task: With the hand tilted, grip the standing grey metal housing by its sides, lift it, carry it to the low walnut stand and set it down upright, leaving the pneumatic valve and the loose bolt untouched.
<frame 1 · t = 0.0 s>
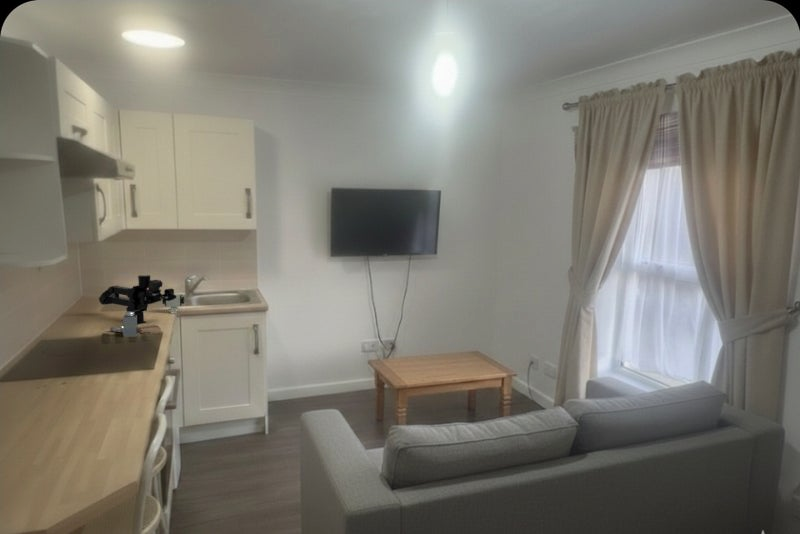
hand: (168, 298, 265), 17 cm above the countertop, tool horizontal, fingers open, 9 cm apart
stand: (148, 330, 263), on the countertop
bolt: (116, 331, 259), on the countertop
pneumatic valve: (174, 313, 306), on the countertop
housing: (130, 335, 252), on the countertop
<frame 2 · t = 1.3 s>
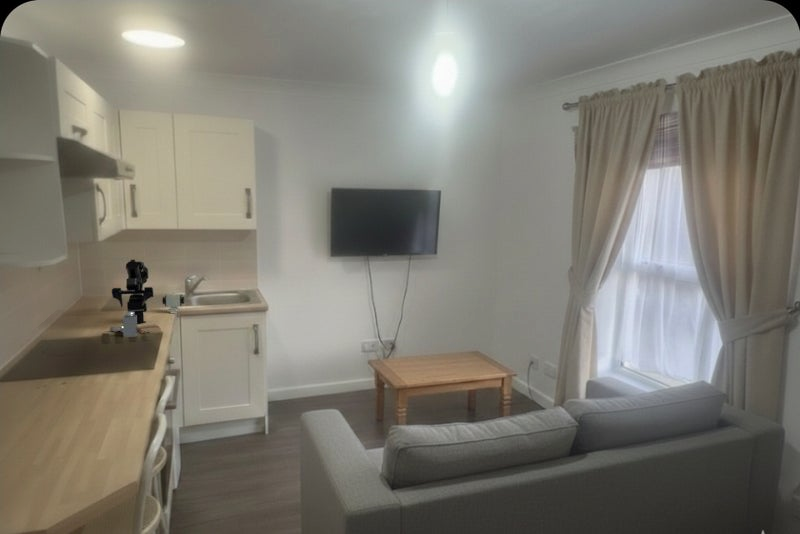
hand: (131, 306, 258), 13 cm above the countertop, tool tilted 45°, fingers open, 9 cm apart
nothing on the countertop moved.
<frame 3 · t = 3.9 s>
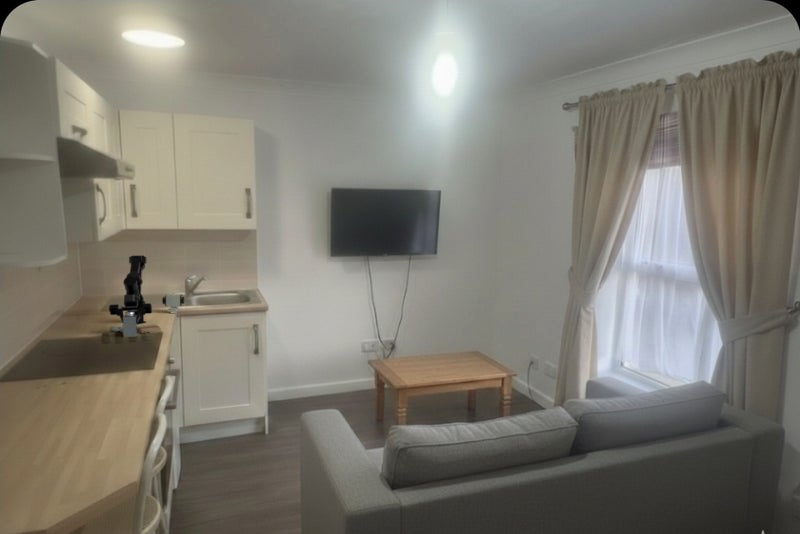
hand: (129, 323, 250), 7 cm above the countertop, tool tilted 45°, fingers closed on housing, 5 cm apart
housing: (130, 335, 252), on the countertop, touching gripper
everything else where it was.
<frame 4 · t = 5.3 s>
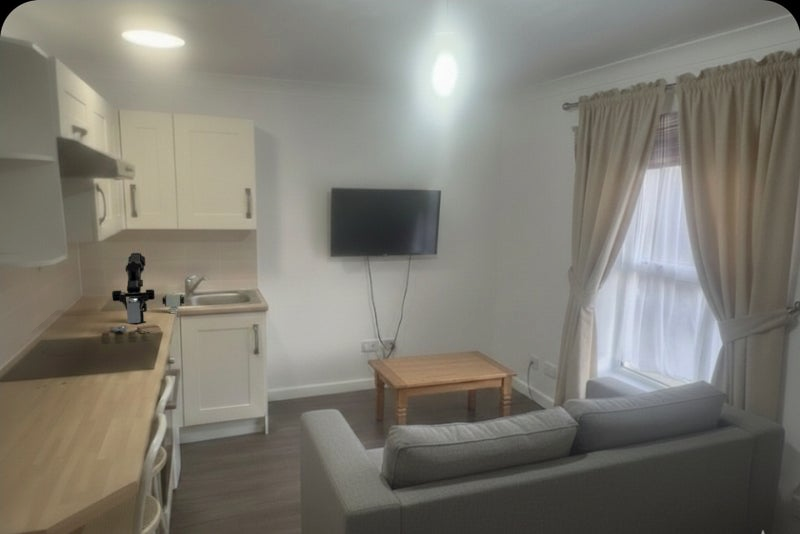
hand: (133, 309, 251), 13 cm above the countertop, tool tilted 45°, fingers closed on housing, 5 cm apart
housing: (133, 321, 253), point 7 cm above the countertop, touching gripper
everything else where it was.
when the fingers open (9 cm above the countertop, at t = 6.9 s): housing stays where it is, resting on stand.
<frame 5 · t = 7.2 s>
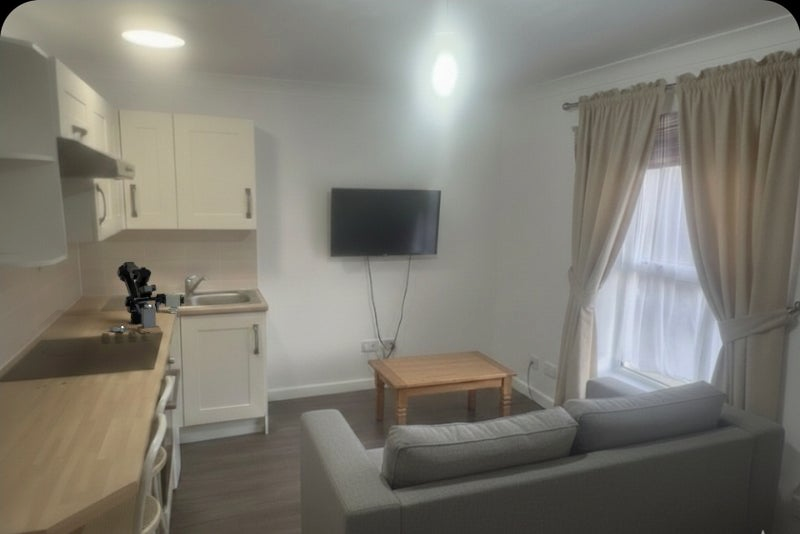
hand: (149, 313, 260), 10 cm above the countertop, tool tilted 45°, fingers open, 8 cm apart
housing: (148, 327, 262), point 2 cm above the countertop, touching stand
everything else where it was.
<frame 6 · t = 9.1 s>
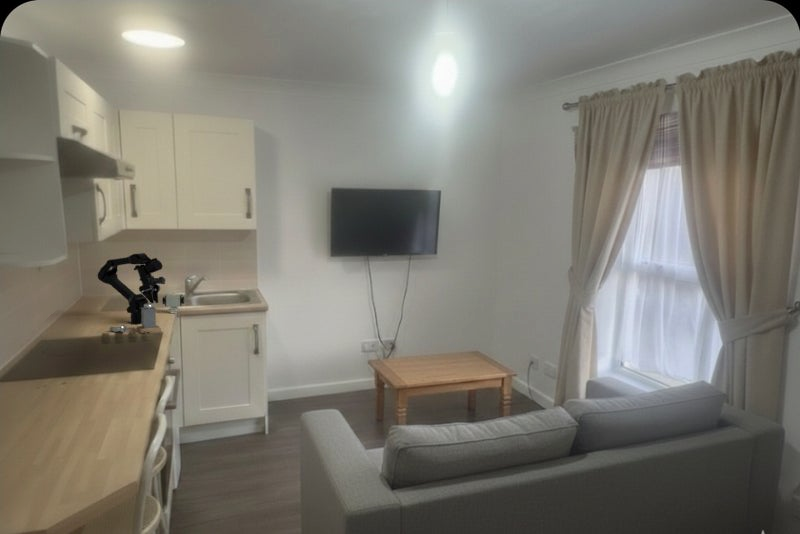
hand: (155, 303, 274), 12 cm above the countertop, tool tilted 20°, fingers open, 9 cm apart
nothing on the countertop moved.
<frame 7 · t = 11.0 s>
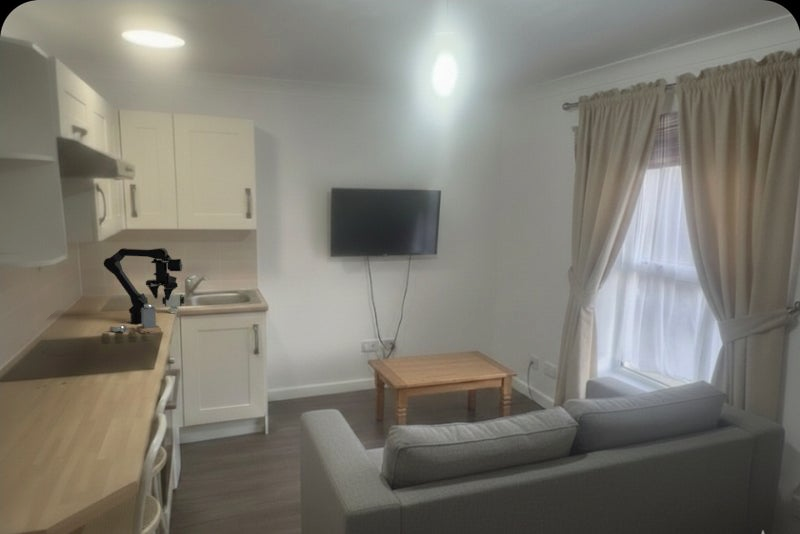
hand: (161, 299, 280), 13 cm above the countertop, tool pointing down, fingers open, 9 cm apart
nothing on the countertop moved.
at the end: housing inside the target area on the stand (0.0 cm from its centre), point 2.0 cm above the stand's base; housing tilted 0°; the gripper is holding nothing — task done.
